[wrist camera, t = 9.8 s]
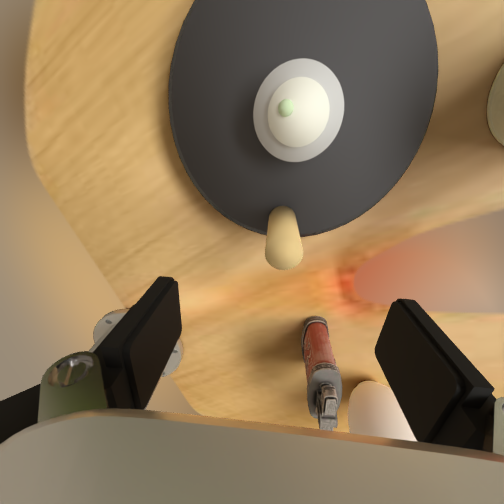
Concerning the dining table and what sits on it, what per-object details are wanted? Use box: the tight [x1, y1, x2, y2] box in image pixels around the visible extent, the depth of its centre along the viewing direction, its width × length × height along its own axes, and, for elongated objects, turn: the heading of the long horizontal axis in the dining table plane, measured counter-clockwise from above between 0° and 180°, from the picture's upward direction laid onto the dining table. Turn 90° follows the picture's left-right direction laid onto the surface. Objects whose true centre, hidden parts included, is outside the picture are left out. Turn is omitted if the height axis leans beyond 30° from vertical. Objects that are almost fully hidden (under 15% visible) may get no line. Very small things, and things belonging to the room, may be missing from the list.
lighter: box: [301, 316, 342, 431], centre depth 26 cm, size 8×3×10 cm, turn 3°
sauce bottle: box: [348, 381, 418, 442], centre depth 26 cm, size 8×8×18 cm
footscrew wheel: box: [172, 0, 438, 270], centre depth 15 cm, size 19×19×8 cm
